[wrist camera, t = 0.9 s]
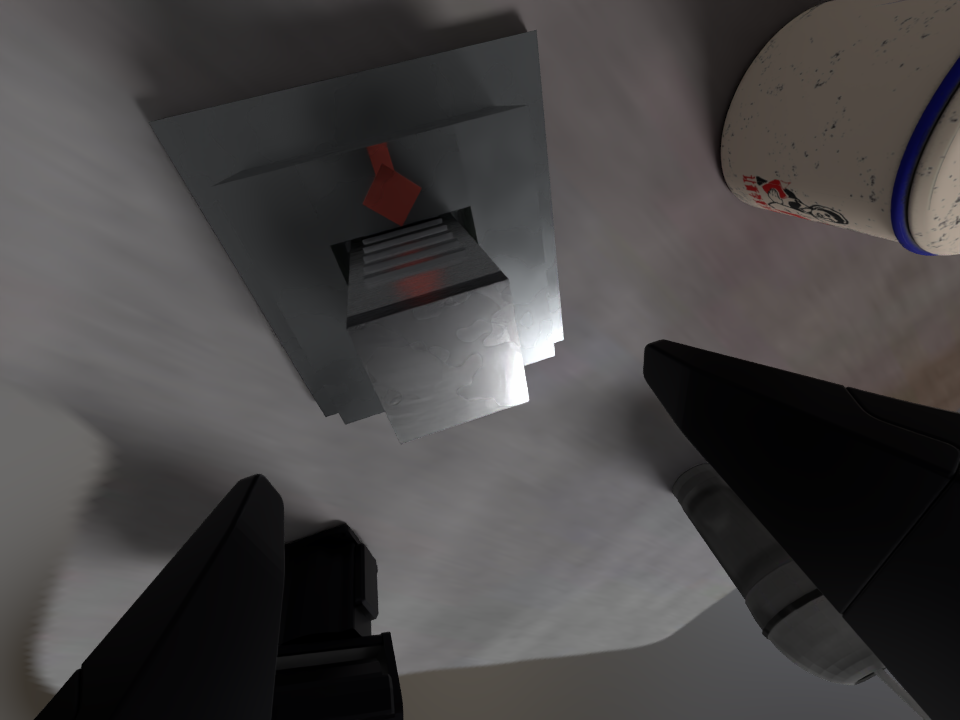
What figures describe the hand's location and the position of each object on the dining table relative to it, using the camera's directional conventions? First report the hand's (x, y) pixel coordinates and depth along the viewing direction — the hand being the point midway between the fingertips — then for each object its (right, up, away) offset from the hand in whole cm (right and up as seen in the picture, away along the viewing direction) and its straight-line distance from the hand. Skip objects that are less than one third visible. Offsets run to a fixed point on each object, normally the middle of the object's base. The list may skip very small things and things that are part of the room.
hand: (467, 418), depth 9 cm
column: (-3, +6, +10) cm, 12 cm away
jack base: (-3, +6, +10) cm, 12 cm away
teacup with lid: (+18, +14, +11) cm, 25 cm away
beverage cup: (+20, -10, +28) cm, 36 cm away
